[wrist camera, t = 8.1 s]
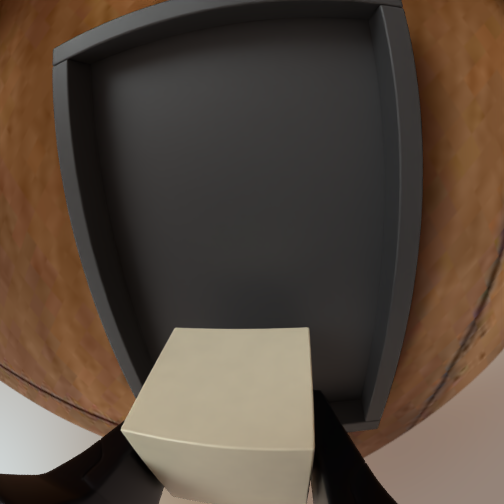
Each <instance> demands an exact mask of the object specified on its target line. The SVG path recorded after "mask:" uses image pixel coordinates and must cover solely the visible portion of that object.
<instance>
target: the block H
mask: <svg viewBox="0 0 504 504" xmlns="http://www.w3.org/2000/svg"><path fill="white" fill-rule="evenodd" d="M121 431H122V433H123V434H124V436H125V437H126V438H127V440H128V441H129V443H130V444H131V445H132V447H133V448H134V450H135V451H136V452H137V454H138V455H139V456H140V458H141V459H142V460H143V461H144V463H145V464H146V465H147V467H148V468H149V469H150V470H151V472H152V473H153V474H154V475H155V476H156V478H157V479H158V480H159V481H160V482H161V483H162V485H163V486H164V487H165V488H166V489H167V490H168V491H169V493H170V494H171V495H172V496H174V497H178V498H183V499H188V500H194V501H199V502H206V503H213V504H307V498H308V492H309V486H310V480H311V473H312V466H313V459H314V451H315V433H314V401H313V379H312V361H311V345H310V330H309V328H308V327H304V328H272V329H204V328H174V330H173V332H172V334H171V336H170V337H169V339H168V341H167V343H166V345H165V346H164V348H163V350H162V352H161V354H160V356H159V357H158V359H157V361H156V363H155V365H154V367H153V368H152V370H151V372H150V374H149V376H148V378H147V380H146V382H145V383H144V385H143V387H142V389H141V391H140V393H139V395H138V397H137V398H136V400H135V402H134V404H133V406H132V408H131V410H130V412H129V414H128V416H127V418H126V420H125V421H124V423H123V425H122V427H121Z"/></svg>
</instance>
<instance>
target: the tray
mask: <svg viewBox="0 0 504 504" xmlns="http://www.w3.org/2000/svg"><path fill="white" fill-rule="evenodd" d="M402 7H403V5H402V1H401V0H169V1H166V2H162V3H159V4H156V5H152V6H149V7H146V8H143V9H140V10H138V11H135V12H132V13H129V14H127V15H124V16H121V17H119V18H116V19H114V20H111V21H109V22H107V23H104V24H102V25H100V26H98V27H95V28H93V29H91V30H89V31H87V32H85V33H83V34H81V35H79V36H77V37H75V38H73V39H71V40H69V41H67V42H65V43H63V44H61V45H60V46H58V47H56V48H54V49H53V66H54V67H53V103H54V118H55V129H56V139H57V148H58V155H59V162H60V169H61V175H62V181H63V187H64V192H65V197H66V202H67V207H68V212H69V216H70V221H71V225H72V229H73V233H74V237H75V241H76V245H77V249H78V252H79V256H80V259H81V263H82V266H83V269H84V273H85V276H86V279H87V282H88V285H89V288H90V291H91V294H92V297H93V300H94V303H95V306H96V308H97V311H98V314H99V317H100V319H101V322H102V324H103V327H104V330H105V332H106V335H107V337H108V339H109V342H110V344H111V347H112V349H113V351H114V354H115V356H116V358H117V360H118V363H119V365H120V367H121V369H122V371H123V374H124V376H125V378H126V380H127V382H128V384H129V386H130V388H131V390H132V392H133V394H134V396H135V398H137V397H138V395H139V393H140V391H141V389H142V387H143V385H144V383H145V382H146V380H147V378H148V376H149V374H150V372H151V370H152V368H153V367H154V365H155V363H156V361H157V359H158V357H159V356H160V354H161V352H162V350H163V348H164V346H165V345H166V343H167V341H168V339H169V337H170V336H171V334H172V332H173V330H174V328H204V329H272V328H304V327H308V328H309V330H310V345H311V361H312V379H313V390H321V391H322V393H323V394H324V396H325V398H326V399H327V401H328V403H329V404H330V406H331V407H332V409H333V411H334V412H335V414H336V416H337V417H338V419H339V420H340V422H341V424H342V425H343V427H344V428H345V430H346V432H355V431H363V430H371V429H377V428H378V426H379V423H380V419H381V417H382V414H383V411H384V408H385V405H386V402H387V399H388V396H389V393H390V389H391V386H392V383H393V379H394V376H395V372H396V368H397V365H398V361H399V357H400V353H401V349H402V345H403V340H404V336H405V331H406V327H407V322H408V317H409V312H410V306H411V301H412V295H413V289H414V282H415V275H416V268H417V260H418V251H419V241H420V230H421V216H422V195H423V145H422V124H421V111H420V100H419V91H418V82H417V75H416V68H415V61H414V55H413V50H412V44H411V39H410V34H409V30H408V25H407V21H406V17H405V12H404V9H403V8H402Z"/></svg>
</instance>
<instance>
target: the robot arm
mask: <svg viewBox="0 0 504 504" xmlns="http://www.w3.org/2000/svg"><path fill="white" fill-rule="evenodd" d="M313 401H314V433H315V451H314V459H313V466H312V473H311V486H312V494H313V504H397V503H396V501H395V500H394V499H393V498H392V497H391V496H390V495H389V494H388V493H387V491H386V490H385V489H384V488H383V486H382V485H381V484H380V483H379V481H378V480H377V479H376V477H375V476H374V474H373V473H372V471H371V470H370V468H369V467H368V465H367V464H366V463H365V460H364V459H363V457H362V456H361V454H360V452H359V451H358V449H357V448H356V446H355V444H354V443H353V441H352V440H351V438H350V436H349V435H348V433H347V432H346V430H345V428H344V427H343V425H342V424H341V422H340V420H339V419H338V417H337V416H336V414H335V412H334V411H333V409H332V407H331V406H330V404H329V403H328V401H327V399H326V398H325V396H324V394H323V393H322V391H321V390H313ZM124 421H125V420H124ZM124 421H123V422H122V423H121V424H119V425H118V426H117V427H115V428H114V429H113V430H112V431H110V432H109V433H108V434H107V435H105V436H104V437H103V438H101V440H99V441H97V442H96V443H95V444H94V445H92V446H91V447H90V448H88V449H87V450H85V451H84V452H82V453H81V454H79V455H77V456H76V457H74V458H73V459H71V460H69V461H67V462H66V463H64V464H62V465H60V466H59V467H57V468H55V469H53V470H52V471H49V472H47V473H44V474H40V475H14V474H0V504H159V501H160V498H161V495H162V491H163V488H164V486H163V485H162V483H161V482H160V481H159V480H158V479H157V478H156V476H155V475H154V474H153V473H152V472H151V470H150V469H149V468H148V467H147V465H146V464H145V463H144V461H143V460H142V459H141V458H140V456H139V455H138V454H137V452H136V451H135V450H134V448H133V447H132V445H131V444H130V443H129V441H128V440H127V438H126V437H125V436H124V434H123V433H122V431H121V427H122V425H123V423H124Z"/></svg>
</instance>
